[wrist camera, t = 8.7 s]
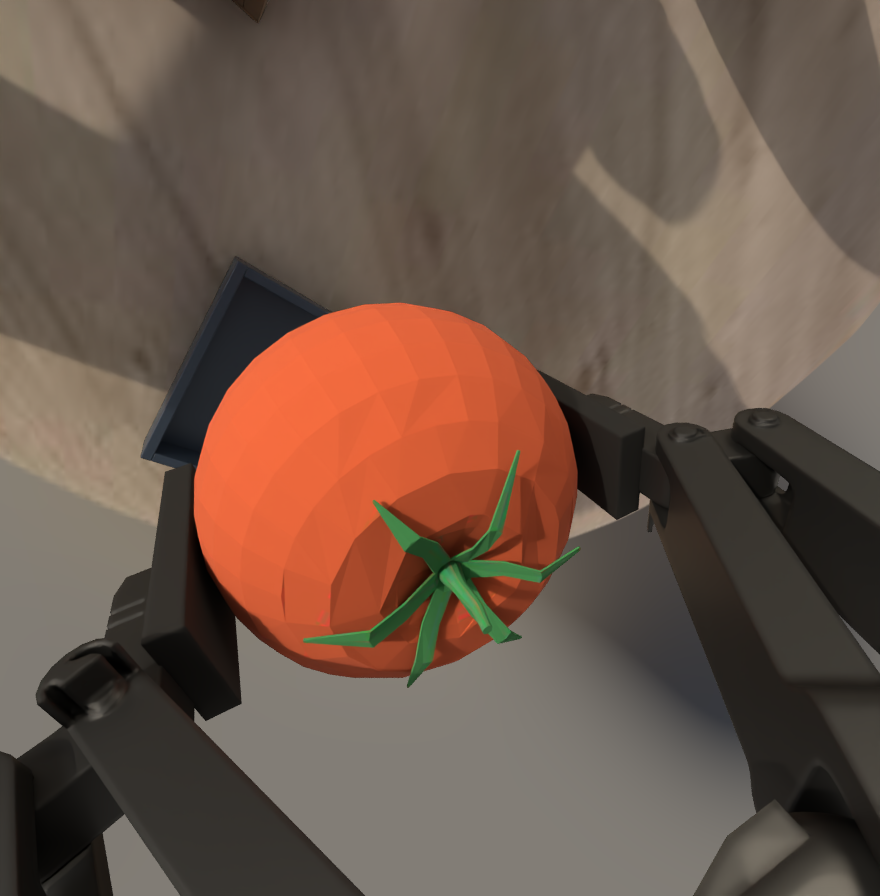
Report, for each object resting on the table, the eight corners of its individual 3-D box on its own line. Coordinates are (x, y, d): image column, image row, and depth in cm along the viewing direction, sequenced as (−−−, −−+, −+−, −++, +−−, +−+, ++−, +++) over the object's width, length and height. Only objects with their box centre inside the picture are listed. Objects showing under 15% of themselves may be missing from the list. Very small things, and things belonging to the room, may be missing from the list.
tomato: (144, 301, 13) (44, 484, 5) (475, 259, 16) (744, 323, 8) (244, 573, 18) (277, 881, 10) (478, 497, 21) (645, 682, 13)
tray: (144, 441, 30) (139, 458, 28) (235, 255, 27) (237, 260, 26) (346, 505, 39) (353, 522, 37) (429, 369, 36) (442, 379, 34)
